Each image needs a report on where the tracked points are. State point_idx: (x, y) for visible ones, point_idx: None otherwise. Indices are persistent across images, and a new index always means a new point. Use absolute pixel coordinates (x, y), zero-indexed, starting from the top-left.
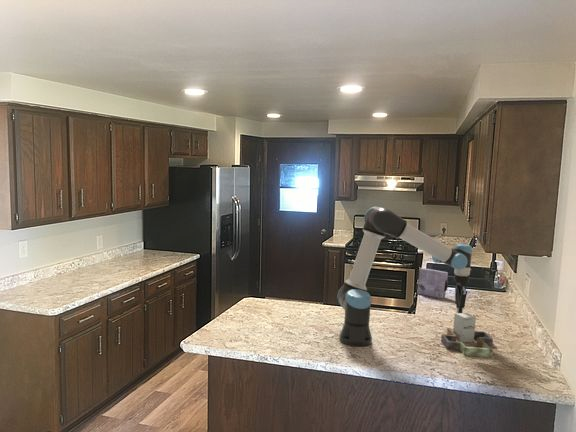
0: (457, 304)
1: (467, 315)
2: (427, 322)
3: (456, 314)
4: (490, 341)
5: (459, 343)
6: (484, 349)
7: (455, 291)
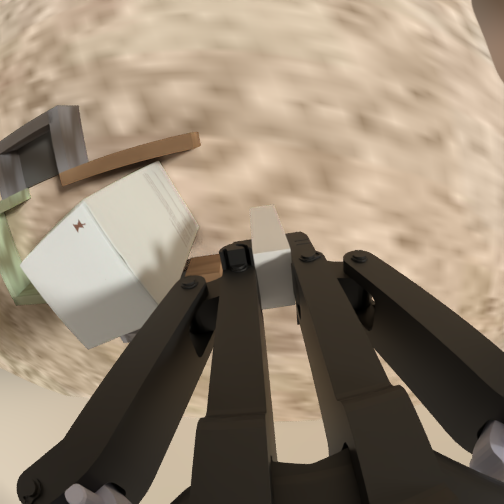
0: (295, 273)
1: (78, 304)
2: (402, 64)
3: (67, 215)
4: None
5: (3, 196)
6: (5, 280)
7: (489, 354)
